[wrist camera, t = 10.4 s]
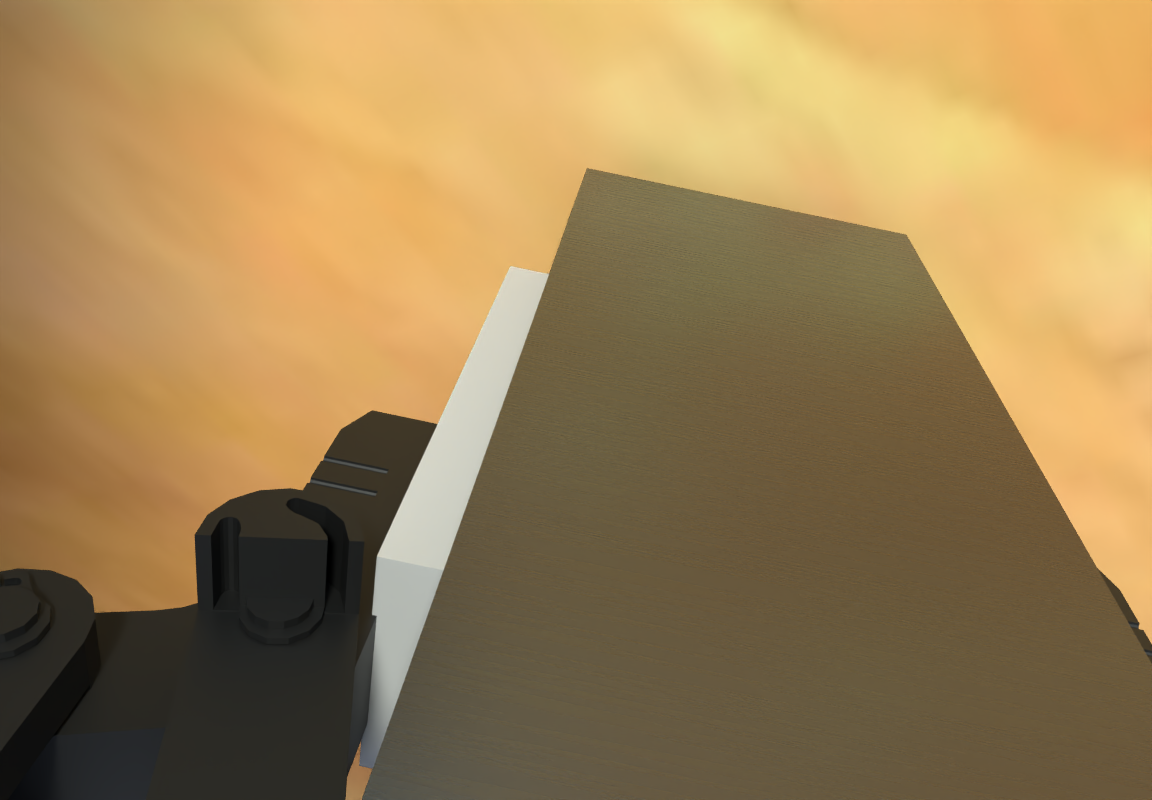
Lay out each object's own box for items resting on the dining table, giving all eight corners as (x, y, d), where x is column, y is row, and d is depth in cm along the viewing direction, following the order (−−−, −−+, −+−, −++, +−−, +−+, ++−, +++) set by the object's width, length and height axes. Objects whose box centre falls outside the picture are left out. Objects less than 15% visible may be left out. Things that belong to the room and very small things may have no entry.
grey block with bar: (364, 121, 14) (-501, 792, 4) (1130, 281, 14) (2298, 1395, 4) (339, 544, 19) (-105, 1393, 8) (927, 668, 19) (1221, 1683, 8)
